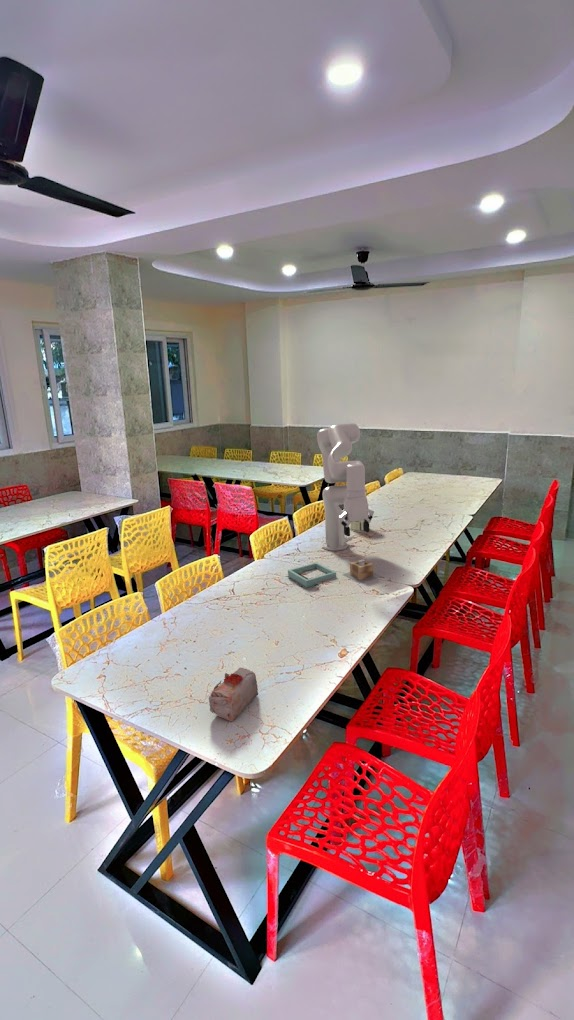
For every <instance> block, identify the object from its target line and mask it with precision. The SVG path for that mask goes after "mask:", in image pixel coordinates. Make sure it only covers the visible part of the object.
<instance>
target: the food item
mask: <svg viewBox="0 0 574 1020" xmlns="http://www.w3.org/2000/svg"><path fill="white" fill-rule="evenodd" d="M257 682H258V680H257V676H256V673H255V672H254V671H252V670H250V669H247V668H244V667H238V669H237V670H236V671H234V672H232V673H227V672H225V673H224V678H223V681H222V680H220V681H219V682H218V683H217V684H216V685H215V686H214V688H213V690H212V691H211V693H210V695H209V696H208V702H209V711H210V712H211V713H212V714H215V715H217V716H218V717H219V718H223V719H225V720H227V721H229V722H233V721H235V719H236V718H237V717H238V716H239V715H240V714H241V713H242V712H243V711H244V710H245V709H246V708H247V706H249V705H250V704H251V703H252V701H253V700H254V699H256V697H257V696H258V695H259V689H258V683H257Z"/></svg>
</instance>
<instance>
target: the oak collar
mask: <svg viewBox="0 0 574 1020" xmlns="http://www.w3.org/2000/svg"><path fill="white" fill-rule="evenodd" d="M361 560H365V565H362V566H360V565H359V563H358V561H361ZM349 569H350V570H349V572H350V575H351V576H353V577H355V578H357V579H359V580H362V579H366V578H369V577H372V576H374V573H375V571H374V563H373V562H370V561H368V560H366V559H364V558H362V559H359V560H356V561H352V562H349Z"/></svg>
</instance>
